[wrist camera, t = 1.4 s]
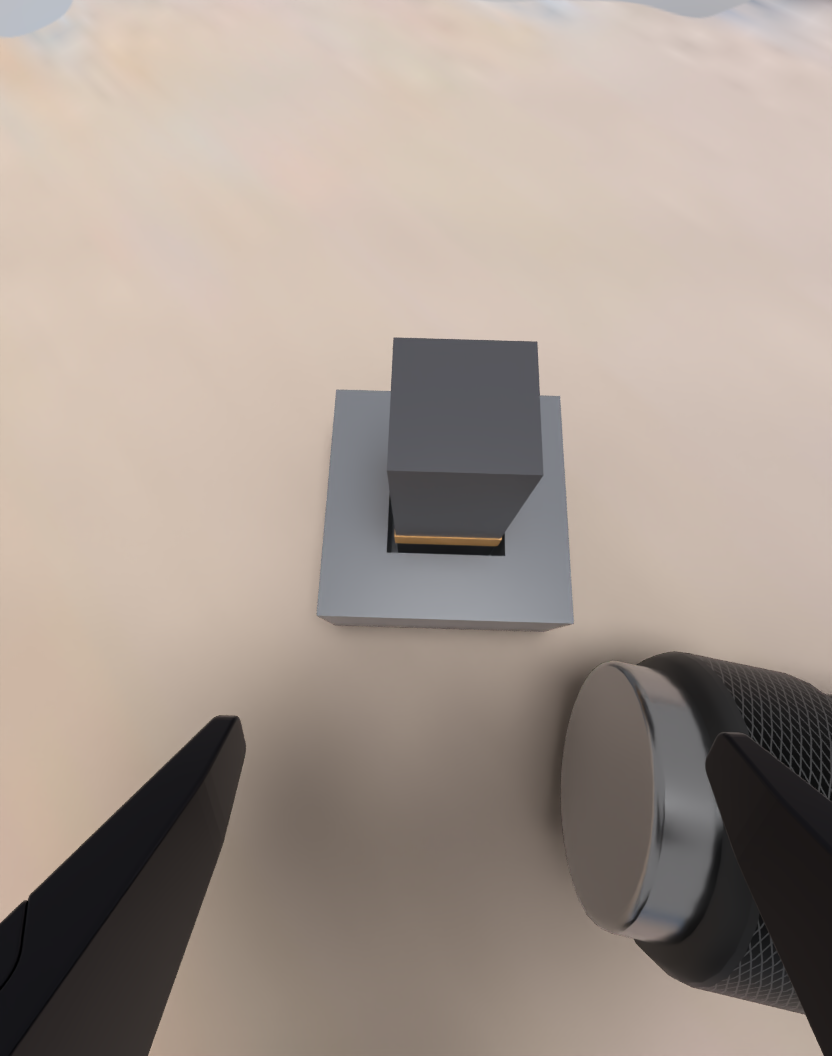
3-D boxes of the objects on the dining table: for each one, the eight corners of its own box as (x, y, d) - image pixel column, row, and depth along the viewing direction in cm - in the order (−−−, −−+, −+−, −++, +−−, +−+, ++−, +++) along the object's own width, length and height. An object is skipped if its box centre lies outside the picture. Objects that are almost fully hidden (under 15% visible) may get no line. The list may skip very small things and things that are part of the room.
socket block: (543, 631, 23) (573, 623, 19) (335, 625, 23) (316, 615, 19) (535, 441, 26) (559, 396, 21) (349, 436, 26) (336, 389, 21)
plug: (484, 564, 23) (545, 476, 12) (398, 562, 23) (385, 472, 12) (483, 484, 24) (538, 340, 13) (401, 482, 24) (391, 336, 13)
